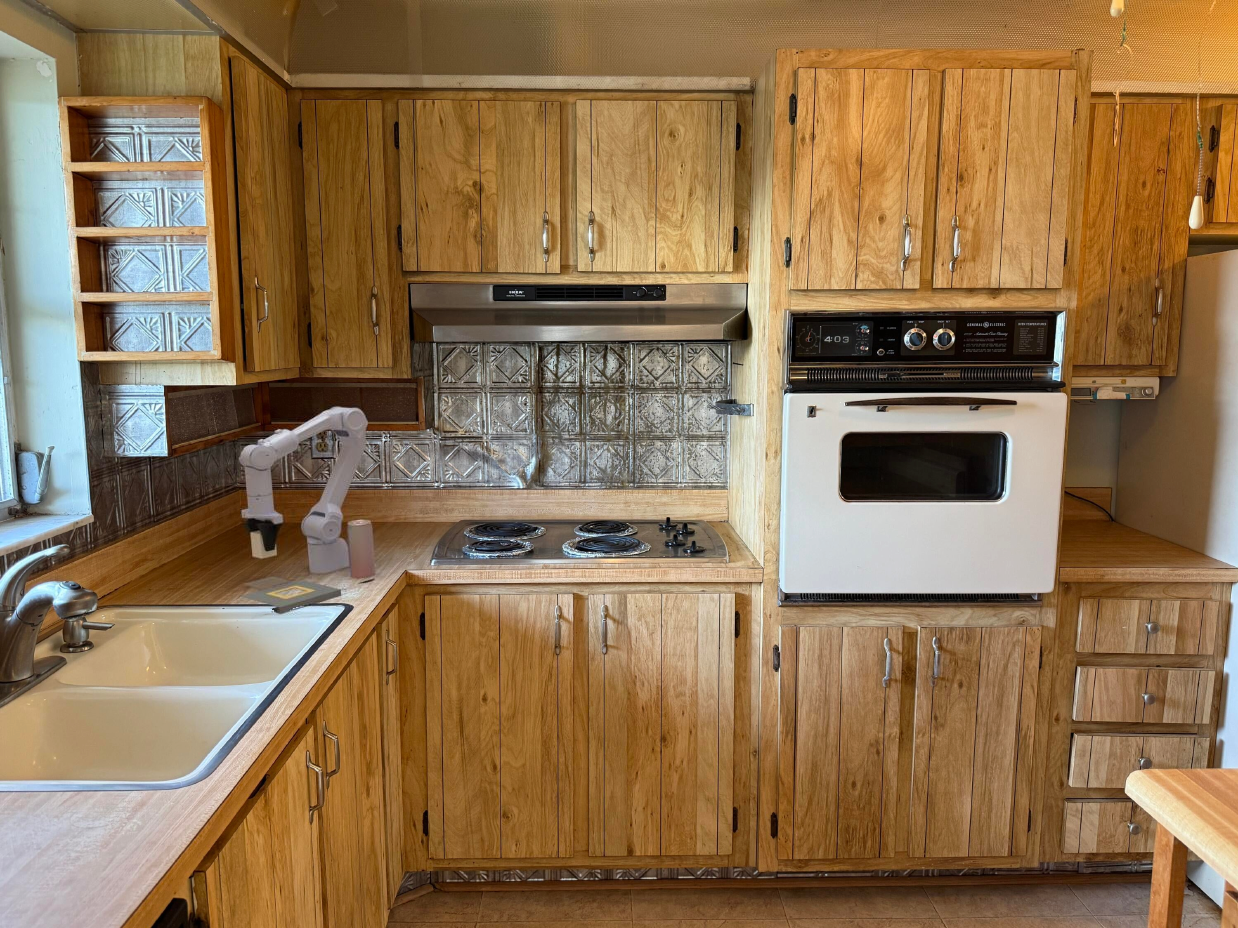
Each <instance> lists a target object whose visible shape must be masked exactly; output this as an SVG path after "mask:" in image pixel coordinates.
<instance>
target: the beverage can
mask: <svg viewBox="0 0 1238 928" xmlns="http://www.w3.org/2000/svg"><path fill="white" fill-rule="evenodd" d="M346 531H347V546H348V555H349V572H350V573H349V575H350V578H351V579H367V578H371V577H374V576H375V575H376V563H375V550H374V534H373V525H372V521H371V520H370V519H357V520H351V521H348V522H347V527H346ZM374 580H376V579H375V578H371V579H368V580H364V581H361V582H358V584H360V585H361V584H367V583H371V582H374Z"/></svg>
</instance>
